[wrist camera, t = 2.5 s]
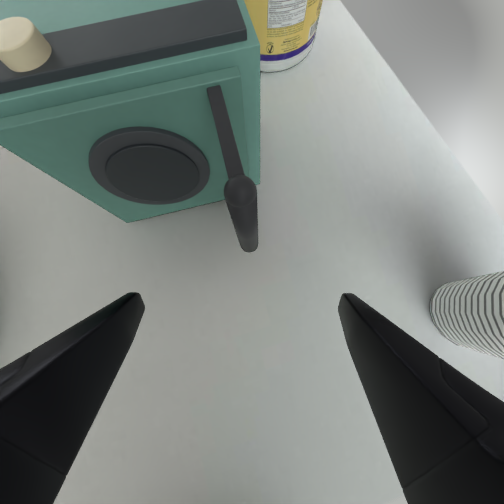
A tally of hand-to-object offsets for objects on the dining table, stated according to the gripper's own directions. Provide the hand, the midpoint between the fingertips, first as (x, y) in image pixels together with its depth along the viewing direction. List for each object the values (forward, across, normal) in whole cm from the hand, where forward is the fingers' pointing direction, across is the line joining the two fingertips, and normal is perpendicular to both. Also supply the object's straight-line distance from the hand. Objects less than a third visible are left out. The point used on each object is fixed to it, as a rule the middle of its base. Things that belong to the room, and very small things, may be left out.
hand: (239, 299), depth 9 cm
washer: (+20, +8, -4) cm, 22 cm away
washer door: (+12, +6, +3) cm, 14 cm away
